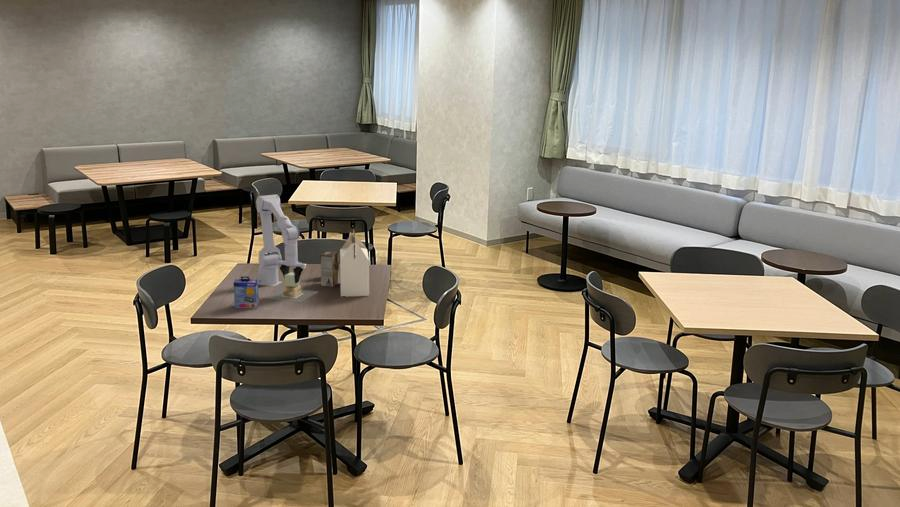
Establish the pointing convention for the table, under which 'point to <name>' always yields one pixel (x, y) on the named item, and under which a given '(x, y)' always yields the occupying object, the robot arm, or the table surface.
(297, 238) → the robot arm
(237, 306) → the ink cartridge box
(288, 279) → the sage top block
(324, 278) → the coffee box
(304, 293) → the board
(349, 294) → the gable box
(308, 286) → the table surface
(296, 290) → the maple base block
